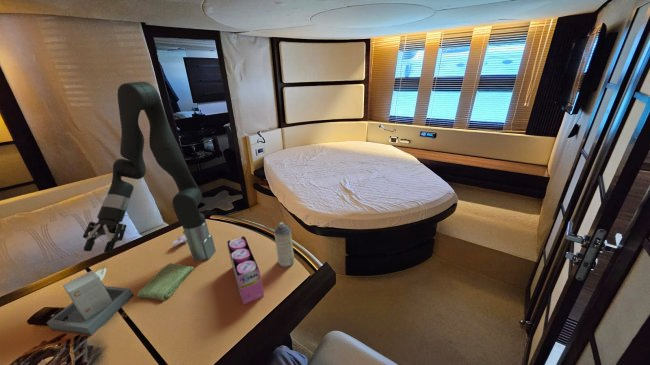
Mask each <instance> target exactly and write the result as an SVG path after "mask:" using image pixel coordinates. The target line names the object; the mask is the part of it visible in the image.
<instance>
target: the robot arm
mask: <svg viewBox="0 0 650 365" xmlns="http://www.w3.org/2000/svg"><path fill="white" fill-rule="evenodd" d="M117 105H118V112H119V114H118V115H119V120H120V127H121V138H120V146H119V147H120V148H119V153H120V156H121V157H122V158H119V159H116V160H115V161H114V162H113V165H112V177H111V178H112V179H111V180H112V181H111V184H110V187H109V189H108V192H107V194H106V196H105V198H104V200H103V201H102V204H101V207H100V209H99V211H98V214H97V216H96V217H97V219H98V220H97V222H94V221H89V223H88V225H87V227H86V229H85V231H84V233H83V235H82V238H83V239H85V240H86V242H85V245H83V246H84V247H83V251H85V252H91V251H92V250H93V247H94V245H95V243H96V240H97V239H98V238H100V237H102V236H106V237H107V240H108V241H106V245H105V247H104V250H103V253H108V254H111V253H112V251H113V250H114V247H115V245H116V243H117V242H121V241H123V238H124V236H125V232H126V229H127V224H124V223H122V222H123V220H124V218H125V215H126V212H127V209H128V207H129V205H130V204H129V203H130V199H131V197H132V194H133V191H134V188H135V187H134V185H133V184H132V183H130V182H126V181H125V180H123V179H122V177H123V178H128V179H131V180H132V179H133V180H141V179H142V178H143V177H145V175H146V172H147V171H146V170H147V168H146V164H145V161H144V147H145V136H144V134H143V131H142V130H141V127H140V125H139V117H140V114H141V112H142V111H144V113H145V115H146V117H147V120H148V124H149V137H148V139H149V148H150V150H151V153H152V155H153V158H154V159H155V161H156V163H157V164H158V165H159V167H160V168H161V169H163V171H165V172H166V173H167V174H168V175H169V176H170V177H171V178H172V179H173V181H174V182H175V185H176V187H177V190H178V192H177V193H176V194H175V195H174V196H173V198H172V202H171V203H172V207H173V211H174V213H175V215H176V217H177V221H178V222H179V224H181V226H182V229H183V231H184V233H185V234H184V233H183V234H184V236H186V239H187V242H186V243H187V245H188V249H189V252H190V254H191V257H192V260H193V261H194V262H195V261H196V262H201V261H205V260H210V259H211V258H212V257H213V255H214V254H215V253H216V251H217V250H216V247H215V242H214V238H213V235H212V234H211V233H210V230H209V227H208V224H207V220H206V217H205V215H204V213H202V212H200V211H199V208H198V206H199V205H200V203H201V202H202V200H203V194H202V192H201V190H200V188H199V186H198V185H197V183H196V181H195V179H194V177H193V175H192V174H191V172H190V170H189V166H188V165H187V163H186V160H185V158H184V155H183V153H182V151H181V147H180V146H179V144H178V141H177V140H176V137H175V135H174V133H173V131H172V128H171V126H170V123H169V121H168V120H169V119H168V117H167V115H166V112H165V109H164V104H163V102H162V98H161V96H160V94H159V92H158V90H157V89H156V88H155V86H154V85H153V84H151V83H149V82H147V81H138V82H137V81H136V82H135V81H133V82H125V83H121V84H120V85H119V86H118V89H117Z"/></svg>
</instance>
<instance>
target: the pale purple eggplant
mask: <svg viewBox="0 0 650 365" xmlns="http://www.w3.org/2000/svg"><path fill="white" fill-rule="evenodd" d="M185 243H188V242H187V239H186V236H185V233H184V230H183V233H182V235H181V236H178V238H177V239H176V240H173V242H172V243H171V247H177V246H178V245H179V244H181V245H182V244H185Z"/></svg>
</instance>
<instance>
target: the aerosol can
mask: <svg viewBox="0 0 650 365" xmlns="http://www.w3.org/2000/svg"><path fill="white" fill-rule="evenodd" d="M291 229H292V228H291V227H290V226H289V225H287V224H284V222H282V221H281V222H279V225H278V226H276V227H275V228H274V233H273V235H274V239H275V246H276V253H277V255H276V256H277V260H278V261H277V262H278V265H279V267H281V268H290V267H292V266H293V265H294V263H295V255H294V247H293V239H292V238H293V237H292V230H291Z"/></svg>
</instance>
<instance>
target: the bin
mask: <svg viewBox="0 0 650 365" xmlns="http://www.w3.org/2000/svg"><path fill="white" fill-rule="evenodd" d="M104 287H105V289H106V291H107V292H108V294H109V296H110V298H111V300H112V303H111V304H110V305H109V306H108V307H106V308H105V309H103V310H101V311H100V312H98V313H97V314H95V315H93V316H92V317H90V318H89V319H87V320H85V319H84V317H83V316H82V315H81V314H80V312H79V311H78V309H77V308H76V306H75V305H74V303H73V301H72V302H71V303H69V304H68V305H67V306H66V307H64V309H62V310H60V311H59V312H58V313H57V314H55V315H54V316H53V317H52V318H50V319H49V320H47V322H46V325H47V326H48V327H49V328H50V331H57V332H64V333H71V334H77V335H78V334H79V335H85V336H93V335H94V334H95V333H96V332H97V331H98V330H99V329H100V328H101V327H102V326H103V325H104V324H105V323H107V322H108V321H109V320H110V318H112V317H113V316H114V315H115V314H116V313H117V312H118V311H119V310H120V309H121V308H122V307H123V306H124V305H125V304H126V303H127V302H129V301H130V300H131V298H133V297H134V292H133V291H132V289H131V288H128V287H126V288H125V287H118V286H111V285H110V286H107V285H104ZM67 316H68V319H67V320H65V321H62V320H63V319H64V318H65V317H67Z"/></svg>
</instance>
